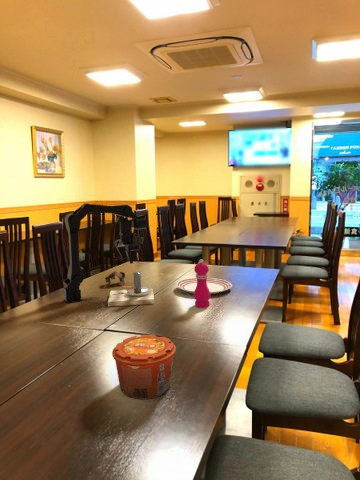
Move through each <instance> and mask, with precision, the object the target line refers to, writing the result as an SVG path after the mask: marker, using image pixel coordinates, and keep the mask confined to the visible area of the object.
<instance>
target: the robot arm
mask: <svg viewBox="0 0 360 480" xmlns="http://www.w3.org/2000/svg"><path fill="white" fill-rule="evenodd" d="M90 213H99V214H101V213H102V214H113V215H117V216H118V217H117V218H116V219H115V221H114V222H116V223H119V232H118V235H119V236H120V239H115V241H114V242H113V243H114V246H115V248H116V250H117V252H118V253H119V255H120V257H121V259H122V261H124V262H125V261H126V258H128V262H129V263H130V264H133V263H134V260H135V256H136V253H138V252H139V251H140V250H141V245H143V244H144V243H143V242H144V239H145V238H144V237H141V236H139V234H137V233H135V232H134V231H133V230H145V229H147V228H148V221H147V218H146V216H145V215H144V214H141V215H136V214H135V212H134V210H133V207H132V206H131V205H129V204H116V205H104V204H94V203H89V202H88V203H87V202H86V203H83V204H82V205H80V207H78V208H76V209H75V210H74V211H73V212H70V213H68V214H66V215H65V217H64V224H65V228H66V230H67V234H68V250H69V251H68V252H69V253H68V254H69V266H68V268H67V269H68V271H67V277H66V278H65V279H64V280H63V282H62V284H63V286H64V287H63V292H64V294H63V295H64V298H63V301H64V300H65V301H66V302H67V303H66V302H65V301H64V302H65V303H66V304H69V303H68V302H71V303H76V302H75V301H77V302H81V301H82V293H81V292H82V290H81V289H80V286H81V284H82V283H83V282H84V278H86V276H85V268H83V266H81V264H80V246H79V243H80V242H79V241H80V240H79V233H80V229H81V222H82V220H83V219H84V218H86V216H87V215H88V214H90ZM126 256H127V257H126Z"/></svg>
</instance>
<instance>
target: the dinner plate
mask: <svg viewBox="0 0 360 480" xmlns="http://www.w3.org/2000/svg"><path fill="white" fill-rule="evenodd" d="M206 281H207V286H208V289H209V291H210V295H216V294H219V292H220V293H222V292H223V293H224V292H226V291H228V290H230V289H231V288H232V287H233V284H232V283H231V282H230V281H227V280H225V279H220V278H215V277H208V278H207V280H206ZM175 286H176V287H177V288H178V289H179V290H182V291H184V292H187V293H188V294H193V295H194V291H195V289H196V286H197V278H196V277H191V278H184V279H181V280H178V281H177V282H176V284H175Z"/></svg>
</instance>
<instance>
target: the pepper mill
mask: <svg viewBox="0 0 360 480" xmlns="http://www.w3.org/2000/svg"><path fill="white" fill-rule="evenodd" d="M198 261H199V263H196V265H194V272H195V278H197V286H196V289H195V291H194V294H193V299H194V300H195V301H194V306H195V307H197V308H200V309H202V308H203V309H204V308H207V307H210V305H211V304H210V299H211V297H212V296H211V295H212V294H210V291H209V289H208V286H207V281H206V280H207V278H209V276H208V272H209V270H210V268H209V265H208V264H207V263H205V262H204V259H199V260H198Z"/></svg>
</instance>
